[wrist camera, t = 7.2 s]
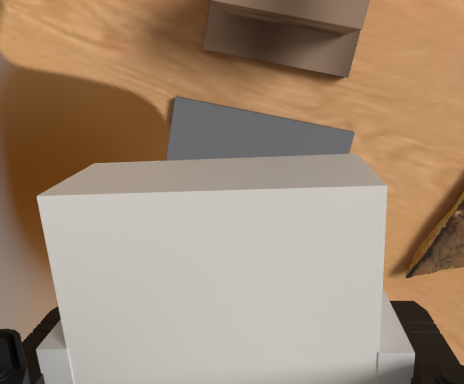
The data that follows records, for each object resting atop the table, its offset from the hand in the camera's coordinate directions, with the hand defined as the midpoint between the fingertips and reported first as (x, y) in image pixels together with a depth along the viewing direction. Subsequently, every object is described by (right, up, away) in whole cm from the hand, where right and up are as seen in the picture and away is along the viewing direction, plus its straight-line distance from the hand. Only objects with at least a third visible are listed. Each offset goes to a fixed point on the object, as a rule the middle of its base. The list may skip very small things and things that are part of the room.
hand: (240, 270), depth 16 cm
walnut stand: (+3, +16, +13) cm, 20 cm away
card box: (0, -1, -3) cm, 3 cm away
